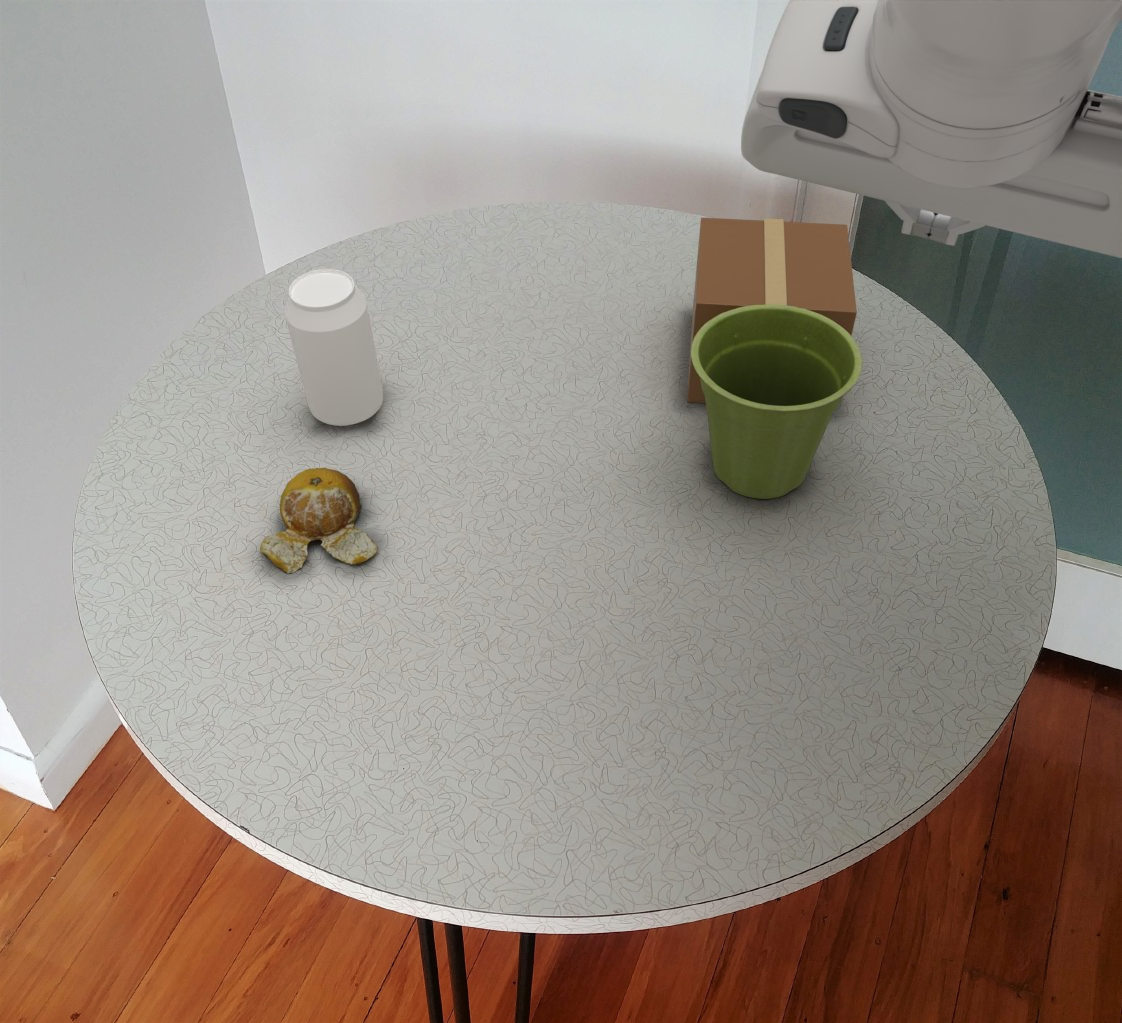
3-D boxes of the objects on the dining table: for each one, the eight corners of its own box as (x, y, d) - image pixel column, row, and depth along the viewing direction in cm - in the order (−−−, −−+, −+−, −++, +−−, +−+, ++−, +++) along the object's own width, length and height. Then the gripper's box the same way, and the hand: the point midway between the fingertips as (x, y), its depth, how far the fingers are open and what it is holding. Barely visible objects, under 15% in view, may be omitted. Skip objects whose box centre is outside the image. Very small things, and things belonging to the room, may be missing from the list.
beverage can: (394, 420, 87) (373, 299, 78) (321, 441, 85) (290, 320, 76) (373, 375, 91) (350, 255, 82) (302, 395, 89) (271, 275, 80)
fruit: (261, 574, 76) (249, 541, 73) (271, 491, 82) (260, 457, 79) (377, 565, 76) (370, 531, 74) (379, 483, 82) (372, 448, 79)
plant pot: (797, 404, 87) (820, 291, 79) (860, 506, 79) (892, 392, 71) (661, 430, 85) (669, 317, 77) (710, 537, 78) (725, 423, 69)
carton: (834, 412, 87) (857, 311, 79) (686, 402, 88) (696, 301, 80) (827, 322, 95) (847, 222, 87) (692, 314, 96) (701, 215, 88)
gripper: (1264, 59, 42) (1150, 223, 55) (769, -35, 48) (773, 135, 61) (1219, 199, 41) (1115, 332, 55) (721, 88, 47) (736, 233, 60)
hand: (931, 228), depth 58 cm, fingers closed
